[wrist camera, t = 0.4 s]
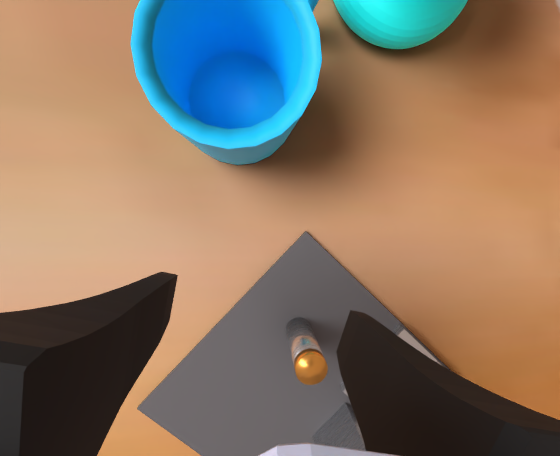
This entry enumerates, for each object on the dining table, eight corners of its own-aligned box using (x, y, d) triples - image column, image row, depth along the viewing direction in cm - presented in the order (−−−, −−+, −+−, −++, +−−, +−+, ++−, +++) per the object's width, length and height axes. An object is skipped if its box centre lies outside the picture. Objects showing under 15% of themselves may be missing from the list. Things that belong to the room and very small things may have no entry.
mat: (308, 529, 25) (308, 533, 25) (138, 405, 22) (136, 408, 22) (458, 378, 25) (461, 380, 25) (305, 231, 22) (306, 231, 22)
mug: (249, 188, 21) (247, 186, 13) (155, 114, 20) (90, 63, 12) (350, 56, 21) (412, -30, 13) (261, -27, 19) (266, -181, 11)
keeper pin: (298, 346, 23) (311, 391, 18) (280, 330, 22) (288, 371, 17) (315, 328, 23) (334, 368, 18) (298, 312, 22) (311, 348, 17)
